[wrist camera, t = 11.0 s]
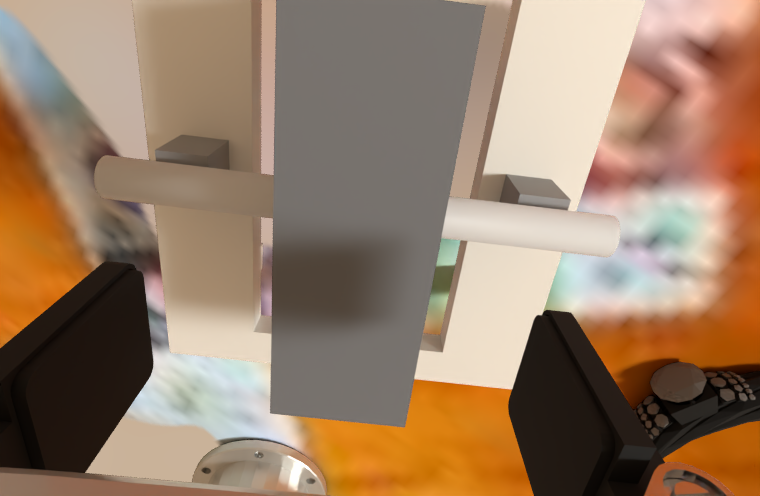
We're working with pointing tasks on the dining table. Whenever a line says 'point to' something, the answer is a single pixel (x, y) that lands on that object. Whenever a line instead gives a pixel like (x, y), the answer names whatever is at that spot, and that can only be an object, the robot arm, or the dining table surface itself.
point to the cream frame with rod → (463, 216)
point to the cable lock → (696, 404)
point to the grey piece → (361, 195)
